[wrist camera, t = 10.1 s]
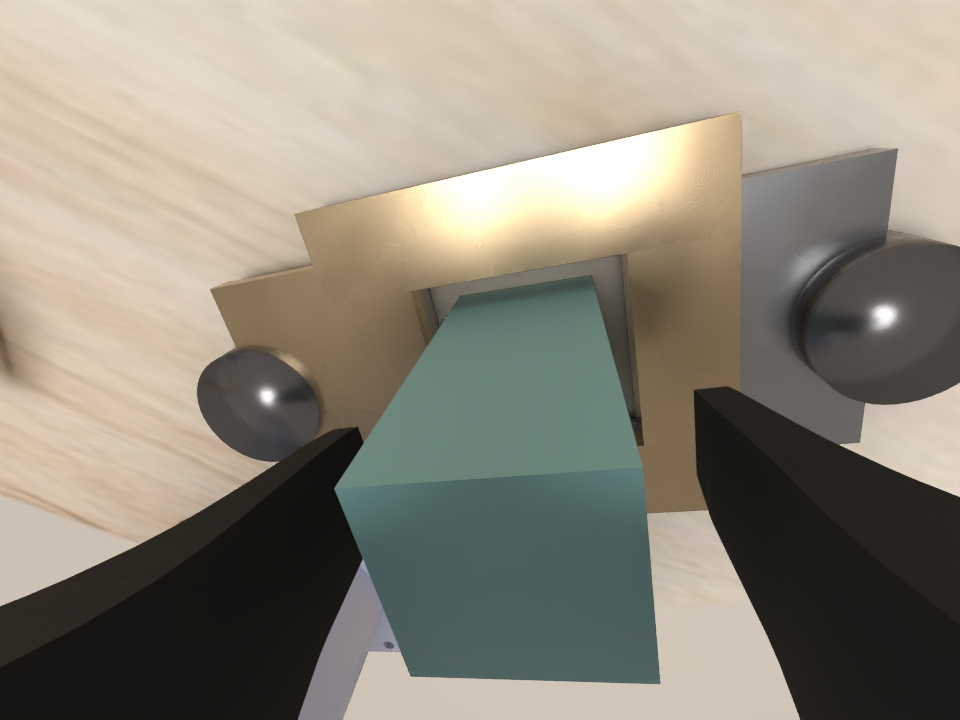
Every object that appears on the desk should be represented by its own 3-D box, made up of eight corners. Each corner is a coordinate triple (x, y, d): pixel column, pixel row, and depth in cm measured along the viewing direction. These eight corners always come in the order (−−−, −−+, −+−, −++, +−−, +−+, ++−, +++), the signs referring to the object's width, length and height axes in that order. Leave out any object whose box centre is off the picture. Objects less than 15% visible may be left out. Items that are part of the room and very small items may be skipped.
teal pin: (485, 406, 16) (411, 676, 8) (460, 296, 14) (334, 488, 6) (604, 394, 15) (660, 684, 7) (590, 275, 13) (642, 467, 5)
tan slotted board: (294, 504, 19) (267, 541, 17) (172, 241, 15) (119, 254, 13) (721, 474, 15) (743, 518, 14) (718, 116, 11) (749, 110, 9)
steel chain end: (417, 495, 18) (402, 534, 16) (322, 207, 14) (286, 216, 12) (913, 461, 14) (964, 507, 12) (989, 54, 10) (1083, 33, 8)
